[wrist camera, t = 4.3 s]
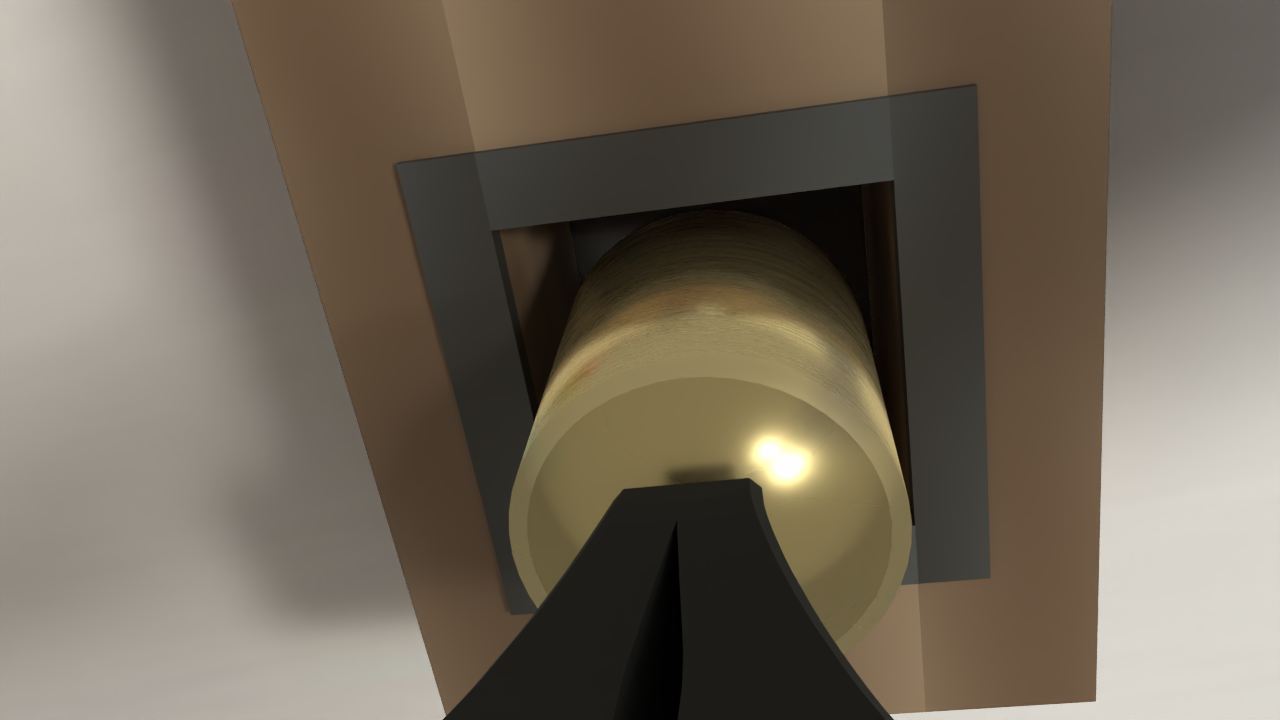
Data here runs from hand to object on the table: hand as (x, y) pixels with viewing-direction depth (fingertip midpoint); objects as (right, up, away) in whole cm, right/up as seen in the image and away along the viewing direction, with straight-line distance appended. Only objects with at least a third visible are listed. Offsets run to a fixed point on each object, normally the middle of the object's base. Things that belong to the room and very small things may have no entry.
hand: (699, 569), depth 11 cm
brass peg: (0, +2, +5) cm, 6 cm away
